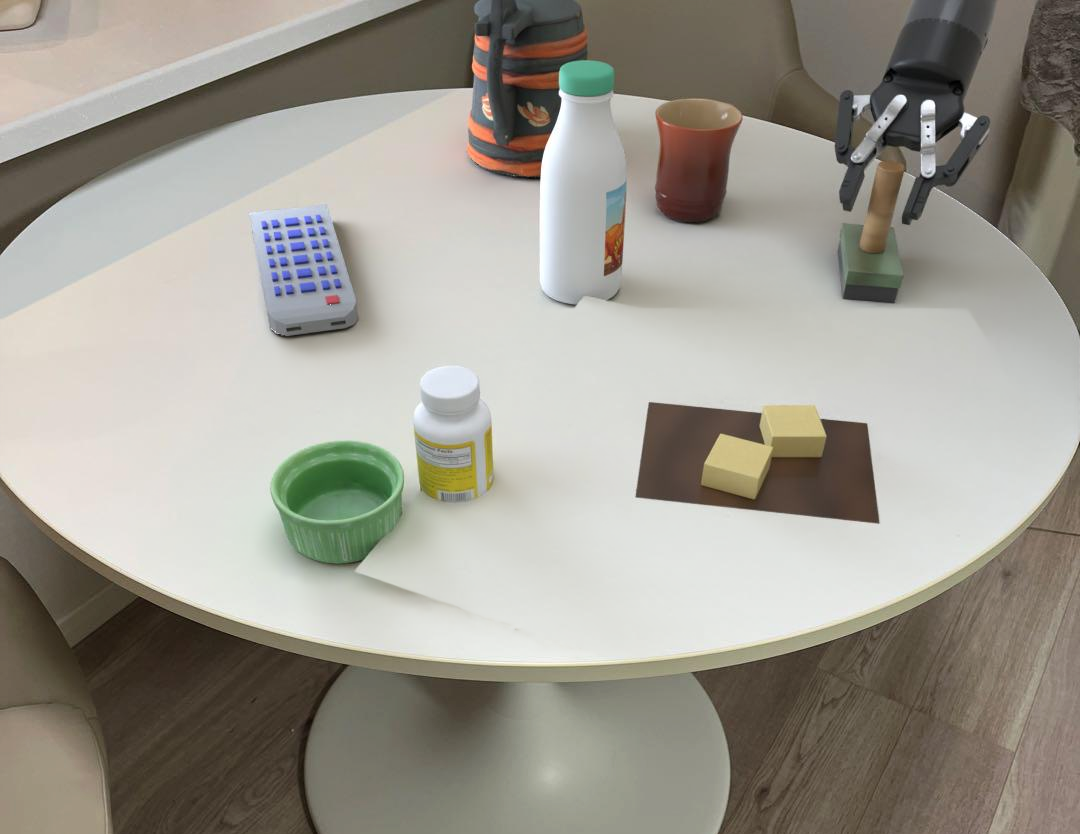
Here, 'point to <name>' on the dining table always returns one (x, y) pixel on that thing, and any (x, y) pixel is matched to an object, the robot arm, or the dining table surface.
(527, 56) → the beer stein
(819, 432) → the crumb
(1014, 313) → the dining table surface
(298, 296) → the remote control
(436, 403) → the supplement bottle
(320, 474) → the ramekin
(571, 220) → the milk bottle
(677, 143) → the mug
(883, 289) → the brush
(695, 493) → the tray
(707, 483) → the crumb
